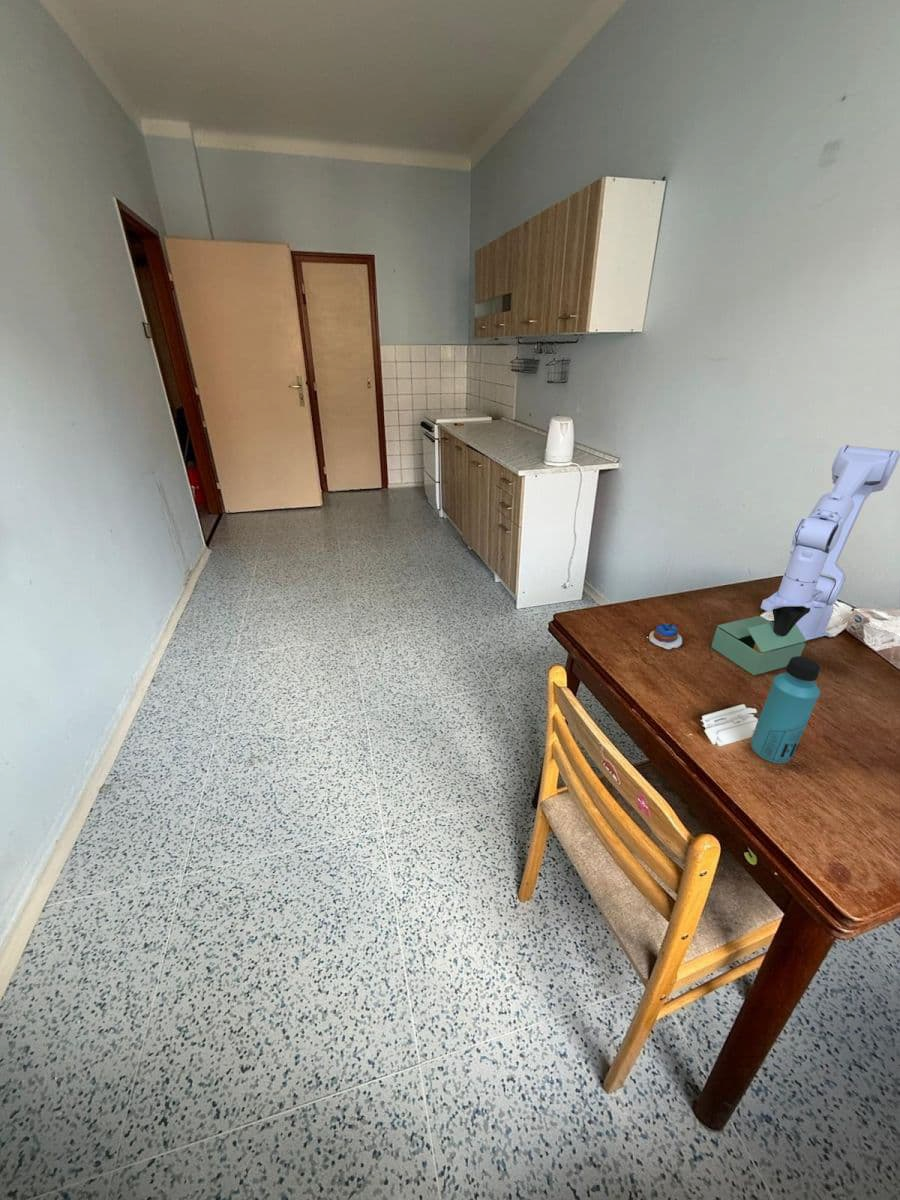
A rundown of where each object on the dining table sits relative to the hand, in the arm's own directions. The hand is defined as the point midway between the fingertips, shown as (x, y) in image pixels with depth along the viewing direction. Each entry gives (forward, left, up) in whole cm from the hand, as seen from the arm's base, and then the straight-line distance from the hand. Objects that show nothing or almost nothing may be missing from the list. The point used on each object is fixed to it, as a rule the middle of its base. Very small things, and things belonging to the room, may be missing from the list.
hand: (779, 633), depth 101 cm
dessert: (+15, -16, -8) cm, 23 cm away
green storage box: (0, -4, -8) cm, 9 cm away
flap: (0, -1, -1) cm, 1 cm away
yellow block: (0, -1, -8) cm, 8 cm away
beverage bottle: (+24, +20, -8) cm, 32 cm away
